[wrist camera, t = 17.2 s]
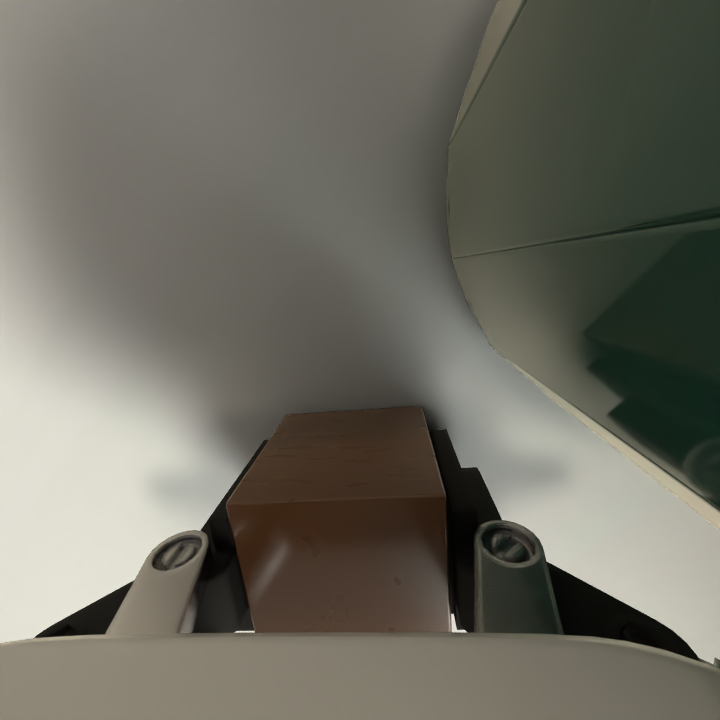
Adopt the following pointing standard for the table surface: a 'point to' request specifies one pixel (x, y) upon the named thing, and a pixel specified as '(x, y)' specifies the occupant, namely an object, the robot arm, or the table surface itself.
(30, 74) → the table surface
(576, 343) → the pot
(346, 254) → the table surface
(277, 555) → the block
